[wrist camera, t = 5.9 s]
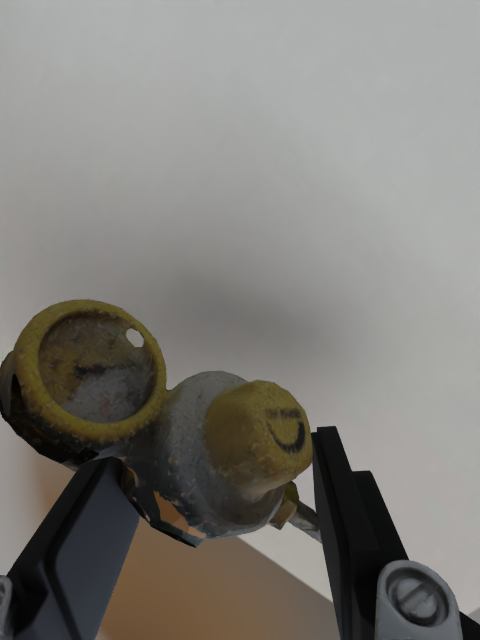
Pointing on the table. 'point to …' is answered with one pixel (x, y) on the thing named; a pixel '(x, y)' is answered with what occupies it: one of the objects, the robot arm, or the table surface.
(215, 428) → the regulator
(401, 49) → the table surface
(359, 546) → the robot arm
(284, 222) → the table surface
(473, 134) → the table surface
